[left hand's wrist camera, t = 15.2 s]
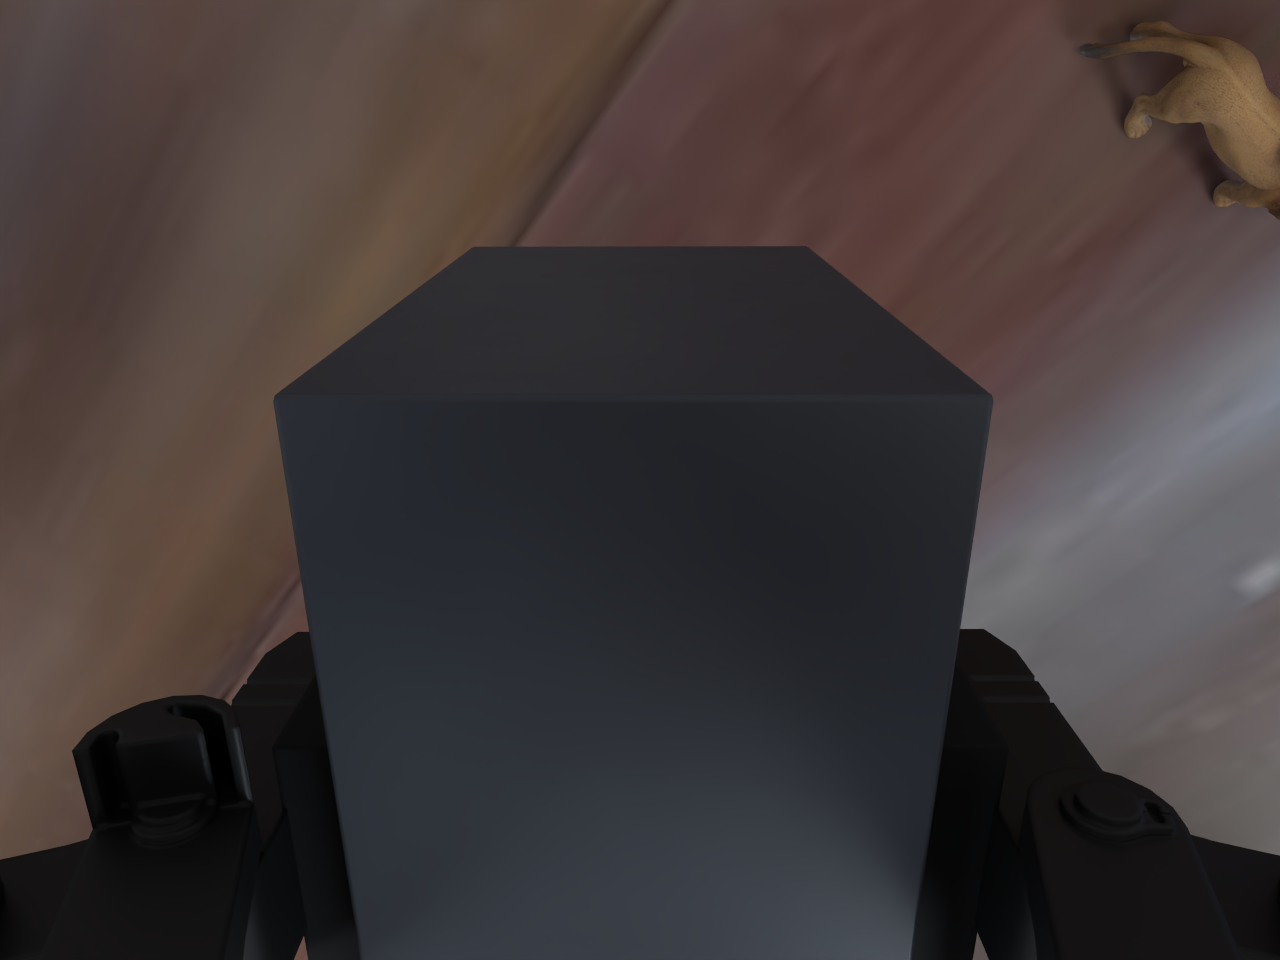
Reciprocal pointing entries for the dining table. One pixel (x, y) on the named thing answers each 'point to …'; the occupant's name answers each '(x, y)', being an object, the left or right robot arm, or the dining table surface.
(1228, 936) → the left robot arm
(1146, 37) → the lion figurine
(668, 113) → the dining table surface
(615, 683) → the post
